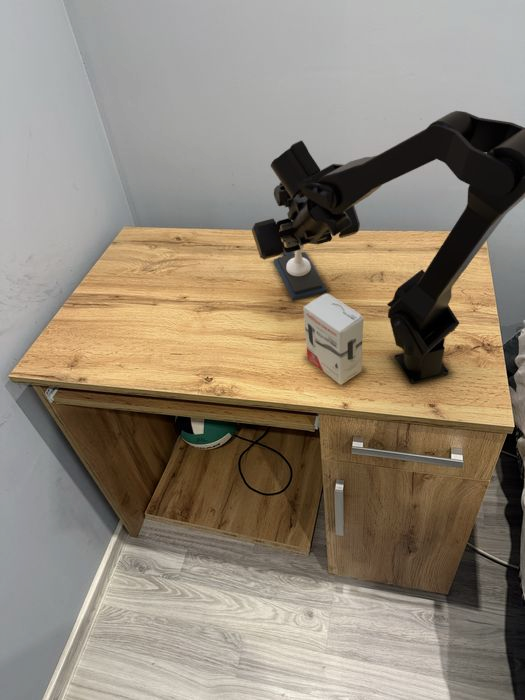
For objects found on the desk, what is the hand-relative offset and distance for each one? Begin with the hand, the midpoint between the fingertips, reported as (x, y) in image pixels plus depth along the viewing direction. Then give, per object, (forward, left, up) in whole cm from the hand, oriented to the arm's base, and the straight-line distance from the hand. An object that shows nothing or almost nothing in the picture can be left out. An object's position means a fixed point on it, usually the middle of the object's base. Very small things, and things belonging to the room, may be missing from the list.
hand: (296, 241), depth 96 cm
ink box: (-26, +2, -8) cm, 28 cm away
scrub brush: (+3, 0, -8) cm, 9 cm away
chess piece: (0, 0, -6) cm, 6 cm away
